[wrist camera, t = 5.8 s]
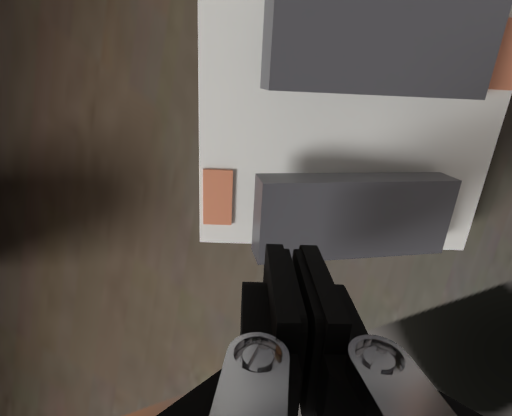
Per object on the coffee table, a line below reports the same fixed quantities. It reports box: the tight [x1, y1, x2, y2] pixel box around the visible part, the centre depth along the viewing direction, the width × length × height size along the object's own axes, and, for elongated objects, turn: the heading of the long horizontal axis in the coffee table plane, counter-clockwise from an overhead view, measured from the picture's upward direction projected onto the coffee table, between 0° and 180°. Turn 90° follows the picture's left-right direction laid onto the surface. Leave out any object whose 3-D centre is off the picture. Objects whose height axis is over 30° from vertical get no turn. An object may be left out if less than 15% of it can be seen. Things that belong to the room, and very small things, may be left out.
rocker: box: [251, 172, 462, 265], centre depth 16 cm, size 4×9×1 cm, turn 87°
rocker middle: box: [260, 0, 512, 100], centre depth 13 cm, size 4×9×1 cm, turn 87°
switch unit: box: [198, 0, 512, 250], centre depth 15 cm, size 22×14×4 cm, turn 177°
